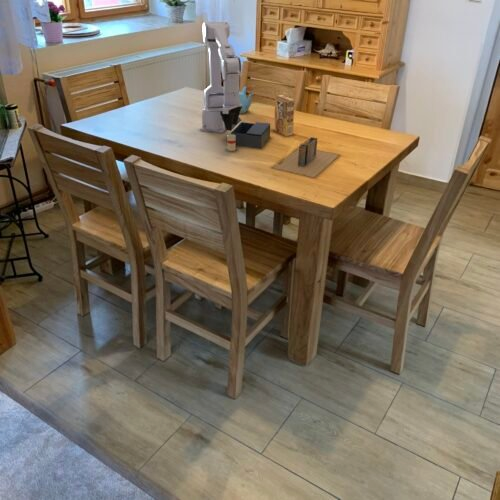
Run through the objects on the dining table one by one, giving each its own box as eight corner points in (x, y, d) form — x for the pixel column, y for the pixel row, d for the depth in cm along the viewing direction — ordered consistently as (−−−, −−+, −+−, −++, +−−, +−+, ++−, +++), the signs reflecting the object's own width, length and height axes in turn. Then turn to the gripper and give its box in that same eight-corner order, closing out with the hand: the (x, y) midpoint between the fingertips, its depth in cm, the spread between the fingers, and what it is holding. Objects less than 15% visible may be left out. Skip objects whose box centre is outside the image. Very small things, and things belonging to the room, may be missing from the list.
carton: (230, 145, 204) (230, 131, 201) (241, 134, 216) (241, 120, 213) (261, 149, 201) (261, 134, 198) (270, 137, 213) (270, 123, 210)
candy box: (293, 135, 216) (295, 99, 208) (285, 136, 214) (287, 100, 206) (281, 129, 223) (282, 94, 214) (273, 130, 221) (274, 95, 212)
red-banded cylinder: (226, 151, 199) (226, 136, 196) (228, 148, 202) (228, 133, 198) (234, 152, 198) (234, 137, 195) (236, 149, 201) (236, 134, 198)
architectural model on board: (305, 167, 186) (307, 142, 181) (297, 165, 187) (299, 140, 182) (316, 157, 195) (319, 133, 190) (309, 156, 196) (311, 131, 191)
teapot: (223, 116, 237) (223, 94, 232) (217, 107, 249) (217, 86, 244) (253, 114, 240) (254, 93, 235) (245, 105, 253) (246, 85, 247)
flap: (230, 131, 201) (230, 131, 201) (241, 120, 213) (240, 120, 213) (221, 118, 199) (221, 118, 199) (232, 107, 211) (232, 108, 211)
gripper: (235, 97, 181) (235, 134, 188) (247, 87, 193) (246, 122, 200) (217, 95, 182) (217, 132, 190) (229, 86, 194) (229, 120, 201)
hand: (231, 127), depth 195 cm, fingers open, 6 cm apart
